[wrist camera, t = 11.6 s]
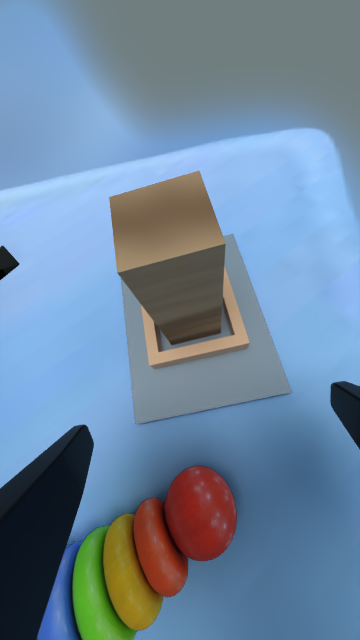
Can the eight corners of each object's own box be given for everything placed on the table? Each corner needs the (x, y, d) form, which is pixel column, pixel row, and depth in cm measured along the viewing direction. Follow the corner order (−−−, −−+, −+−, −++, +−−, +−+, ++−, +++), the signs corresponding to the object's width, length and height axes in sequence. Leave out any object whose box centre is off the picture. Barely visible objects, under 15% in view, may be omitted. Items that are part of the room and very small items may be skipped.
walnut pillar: (220, 333, 22) (225, 243, 10) (171, 345, 22) (117, 272, 10) (208, 290, 23) (199, 170, 12) (163, 301, 24) (109, 197, 12)
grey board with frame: (288, 392, 20) (300, 390, 17) (139, 423, 21) (127, 426, 18) (232, 239, 27) (234, 220, 24) (122, 268, 28) (112, 253, 25)
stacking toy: (43, 666, 16) (243, 507, 19) (-68, 951, 9) (298, 610, 11) (-4, 566, 17) (195, 427, 20) (-144, 741, 9) (215, 472, 12)
